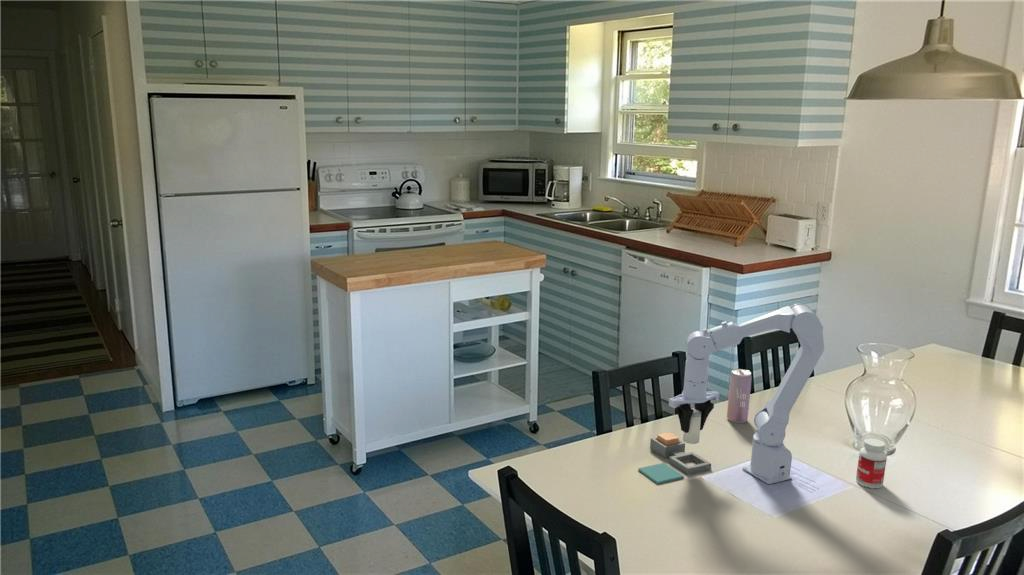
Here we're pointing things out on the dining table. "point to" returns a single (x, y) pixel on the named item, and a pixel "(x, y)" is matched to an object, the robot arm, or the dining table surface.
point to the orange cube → (667, 439)
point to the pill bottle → (871, 464)
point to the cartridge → (693, 428)
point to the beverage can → (739, 396)
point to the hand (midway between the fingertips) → (691, 429)
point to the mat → (660, 473)
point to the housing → (679, 456)
